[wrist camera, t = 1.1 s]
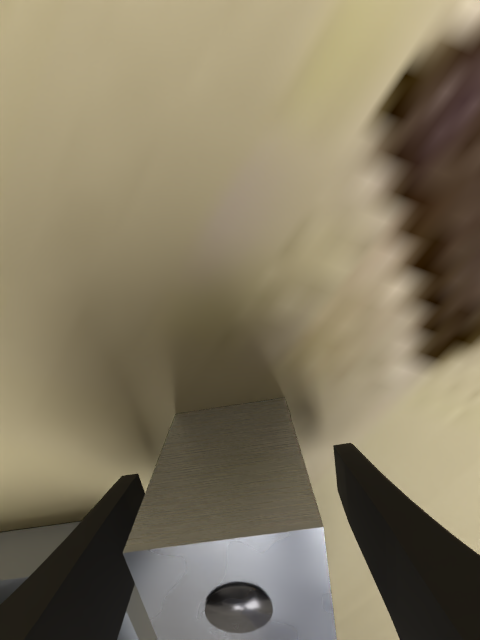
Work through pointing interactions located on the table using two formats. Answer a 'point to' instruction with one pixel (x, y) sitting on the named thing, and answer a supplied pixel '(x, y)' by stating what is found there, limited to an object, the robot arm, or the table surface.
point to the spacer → (232, 532)
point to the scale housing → (34, 548)
